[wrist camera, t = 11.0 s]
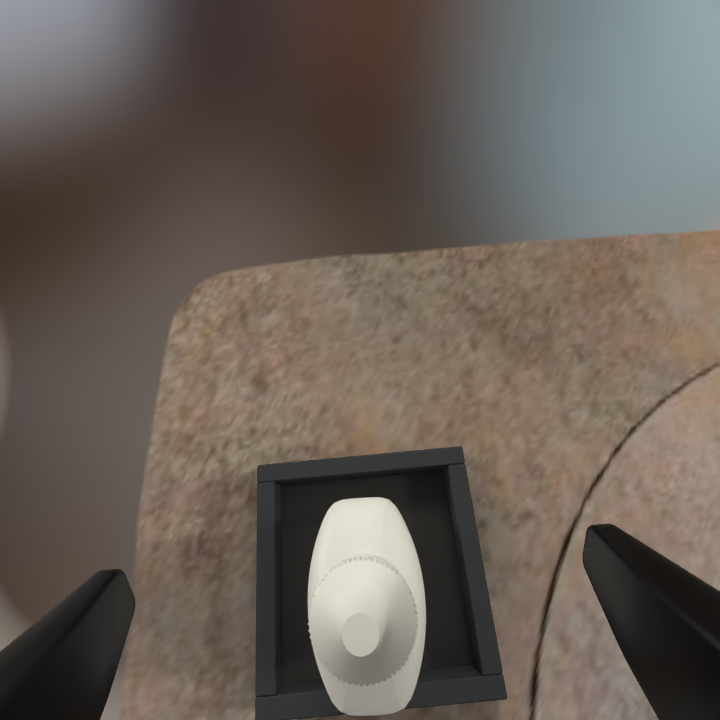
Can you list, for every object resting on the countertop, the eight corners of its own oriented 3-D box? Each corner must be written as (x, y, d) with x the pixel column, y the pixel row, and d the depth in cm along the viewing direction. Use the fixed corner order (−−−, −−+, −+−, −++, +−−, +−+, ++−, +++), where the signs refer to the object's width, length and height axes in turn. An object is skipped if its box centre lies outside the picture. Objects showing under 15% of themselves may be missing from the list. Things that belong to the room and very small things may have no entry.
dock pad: (496, 683, 18) (514, 706, 16) (265, 705, 18) (249, 731, 16) (456, 450, 22) (465, 441, 19) (265, 468, 22) (252, 461, 19)
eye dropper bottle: (438, 536, 19) (521, 541, 8) (388, 666, 17) (409, 901, 6) (354, 493, 20) (326, 446, 9) (297, 613, 18) (176, 739, 7)
